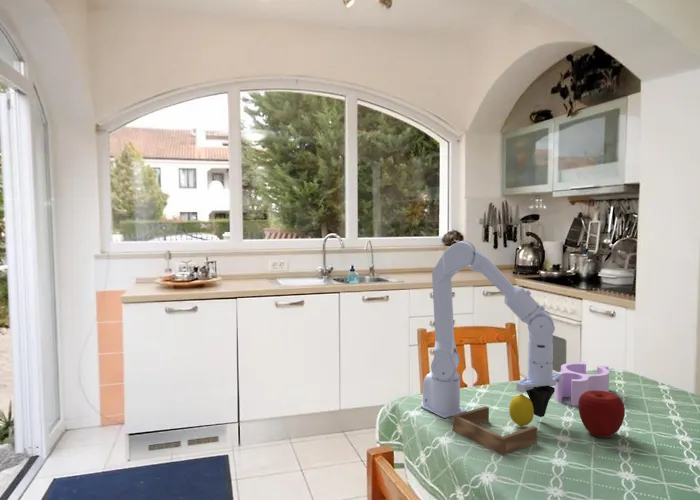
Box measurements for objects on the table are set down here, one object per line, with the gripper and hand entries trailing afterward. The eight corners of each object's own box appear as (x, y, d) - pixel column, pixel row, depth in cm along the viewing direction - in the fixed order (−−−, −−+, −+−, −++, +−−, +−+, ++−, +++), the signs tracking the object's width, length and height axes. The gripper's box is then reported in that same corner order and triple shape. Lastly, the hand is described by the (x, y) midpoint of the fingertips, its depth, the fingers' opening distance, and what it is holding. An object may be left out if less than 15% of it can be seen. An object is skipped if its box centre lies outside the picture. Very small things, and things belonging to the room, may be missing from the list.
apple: (580, 422, 124) (581, 382, 123) (624, 430, 119) (626, 388, 118) (575, 437, 116) (576, 394, 115) (623, 446, 111) (624, 401, 110)
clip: (589, 410, 132) (589, 384, 131) (542, 398, 141) (543, 374, 140) (616, 391, 146) (617, 368, 145) (572, 381, 154) (573, 359, 154)
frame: (452, 430, 120) (452, 415, 120) (485, 420, 126) (485, 406, 125) (502, 455, 107) (502, 439, 107) (536, 442, 113) (537, 427, 113)
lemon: (535, 432, 118) (535, 399, 118) (510, 430, 119) (510, 397, 119) (531, 423, 124) (532, 390, 123) (507, 421, 125) (508, 389, 124)
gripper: (534, 369, 117) (533, 427, 118) (573, 360, 124) (572, 414, 125) (509, 362, 123) (509, 417, 124) (548, 353, 130) (547, 405, 131)
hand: (539, 415), depth 125 cm, fingers closed
